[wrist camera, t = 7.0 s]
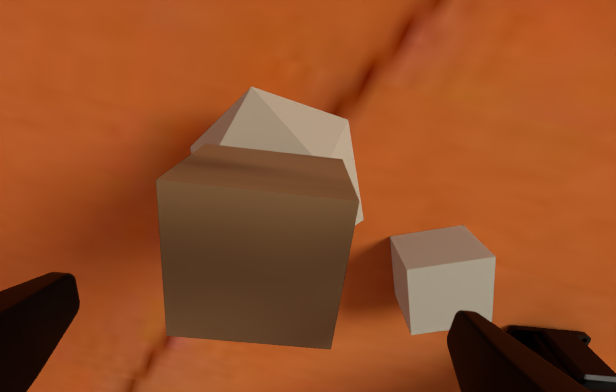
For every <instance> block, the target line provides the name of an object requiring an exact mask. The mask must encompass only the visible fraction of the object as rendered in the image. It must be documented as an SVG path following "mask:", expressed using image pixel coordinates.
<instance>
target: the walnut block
mask: <svg viewBox="0 0 616 392" xmlns="http://www.w3.org/2000/svg"><path fill="white" fill-rule="evenodd" d="M156 190H157V204H158V219H159V233H160V247H161V262H162V276H163V291H164V305H165V320H166V334H167V336H176V337H188V338H200V339H212V340H224V341H236V342H248V343H260V344H272V345H284V346H295V347H307V348H319V349H331V346H332V341H333V335H334V330H335V325H336V320H337V315H338V310H339V305H340V299H341V294H342V289H343V284H344V279H345V274H346V268H347V263H348V258H349V253H350V248H351V243H352V238H353V232H354V227H355V222H356V217H357V212H358V207H359V202H360V201H359V199H358V196H357V194H356V191H355V189H354V187H353V184H352V182H351V179H350V177H349V174H348V172H347V169H346V167H345V164H344V162H343V159H337V158H328V157H319V156H310V155H302V154H293V153H284V152H275V151H266V150H257V149H249V148H240V147H231V146H222V145H213V144H204V145H203V146H202V147H200V148H199V149H198V150H196V151H195V152H193V153H192V154H191V155H189V156H188V157H186V158H185V159H184V160H182V161H181V162H179V163H178V164H177V165H175V166H174V167H173V168H171V169H170V170H168V171H167V172H166V173H164V174H163V175H161V176H160V177H159V178H157V179H156Z"/></svg>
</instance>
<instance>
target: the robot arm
mask: <svg viewBox="0 0 616 392" xmlns="http://www.w3.org/2000/svg"><path fill="white" fill-rule="evenodd" d="M79 306H80V300H79V295H78V290H77V284H76V279H75V277H74V276H73V275H72V274H70V273H61V272H51V273H48V274H45V275H43V276H40V277H37V278H35V279H32V280H29V281H27V282H24V283H21V284H19V285H16V286H13V287H11V288H8V289H5V290H3V291H0V392H27V390H28V389H29V387H30V386H31V385H32V383H33V382H34V380H35V379H36V378H37V376H38V375H39V373H40V372H41V370H42V369H43V367H44V365H45V364H46V362H47V361H48V359H49V357H50V356H51V354H52V353H53V351H54V349H55V348H56V346H57V345H58V343H59V341H60V340H61V338H62V337H63V335H64V333H65V332H66V330H67V329H68V327H69V325H70V324H71V322H72V321H73V319H74V317H75V316H76V314H77V312H78V310H79ZM590 341H591V338H590V337H589V336H588V335H587V334H586V333H585V332H578V331H568V330H557V329H546V328H536V327H525V326H511V327H509V328H508V330H507V332H505V331H503V330H502V329H500V328H499V327H497V326H496V325H495V324H493V323H492V322H490V321H489V320H487V319H486V318H485V317H483V316H482V315H480V314H479V313H477V312H475V311H466V310H459V311H458V312H457V313H456V314H455V316H454V319H453V322H452V324H451V327H450V330H449V332H448V336H447V345H448V349H449V352H450V356H451V359H452V363H453V366H454V369H455V373H456V376H457V380H458V383H459V387H460V390H461V392H616V373H615V372H614V371H613V370H612V369H611V368H610V367H609V366H608V365H607V364H606V363H605V362H604V361H602V360H601V359H600V358H599V357H598V356H597V355H596V354H595V353H594V352H593V351H592V350H591V349H590V348H589V347H588V344H589V343H590Z"/></svg>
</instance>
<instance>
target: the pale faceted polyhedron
mask: <svg viewBox="0 0 616 392" xmlns="http://www.w3.org/2000/svg"><path fill="white" fill-rule="evenodd" d="M204 144H213V145H222V146H231V147H240V148H249V149H257V150H266V151H275V152H284V153H293V154H302V155H310V156H319V157H328V158H337V159H343V162H344V164H345V167H346V169H347V172H348V174H349V177H350V179H351V182H352V184H353V187H354V189H355V191H356V194H357V196H358V199H359V201H360V202H359V207H358V212H357V217H356V222H355V225H356V224H358V223H359V222H361V221H362V220H364V219H363V213H362V206H361V200H360V193H359V187H358V181H357V174H356V168H355V161H354V155H353V149H352V142H351V136H350V129H349V123H348V120H347V119H344V118H341V117H338V116H335V115H332V114H329V113H327V112H324V111H321V110H318V109H315V108H312V107H309V106H306V105H303V104H301V103H298V102H295V101H292V100H289V99H286V98H283V97H280V96H277V95H275V94H272V93H269V92H266V91H263V90H260V89H257V88H254V87H251V88H250V89H249V90H248V91H246V92H245V93H244V94H243V95H242V96H241V97H240V98H239V99H238V100H237V101H236V102H235V103H234V104H233V105H232V106H231V107H230V108H229V109H228V110H227V111H226V112H225V113H224V114H223V115H222V116H221V117H220V118H219V119H218V120H217V121H216V122H215V123H214V124H213V125H212V126H211V127H210V128H209V129H208V130H207V131H206V132H205V133H204V134H203V135H202V136H201V137H200V138H199V139H198V140H197V141H196V142H195V143H194V144H193V145H192V146H191V147H190V149H191V154H192V153H193V152H195V151H196V150H198V149H199V148H200V147H202V146H203V145H204Z"/></svg>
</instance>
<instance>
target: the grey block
mask: <svg viewBox="0 0 616 392" xmlns="http://www.w3.org/2000/svg"><path fill="white" fill-rule="evenodd" d="M390 244H391V256H392V267H393V278H394V290H395V296H396V298H397V301H398V303H399V306H400V308H401V311H402V313H403V316H404V318H405V321H406V323H407V326H408V328H409V331H410V333H411V335H415V334H423V333H430V332H437V331H445V330H450V327H451V324H452V322H453V319H454V316H455V314H456V313H457V312H458V311H459V310H466V311H475V312H477V313H479V314H480V315H482V316H483V317H485V318H486V319H487V320H489V321H490V322H492V311H493V294H494V277H495V261H496V256H495V255H494V254H493V253H492V252H490V251H489V250H488V249H487V248H486V247H485V246H484V245H483V244H482V243H481V242H480V241H479V240H478V239H477V238H476V237H475V236H474V235H473V234H472V233H471V232H470V231H469V230H468V229H467V228H466V227H465V226H464V225H461V226H454V227H448V228H441V229H435V230H428V231H422V232H415V233H409V234H402V235H396V236H390Z"/></svg>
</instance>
